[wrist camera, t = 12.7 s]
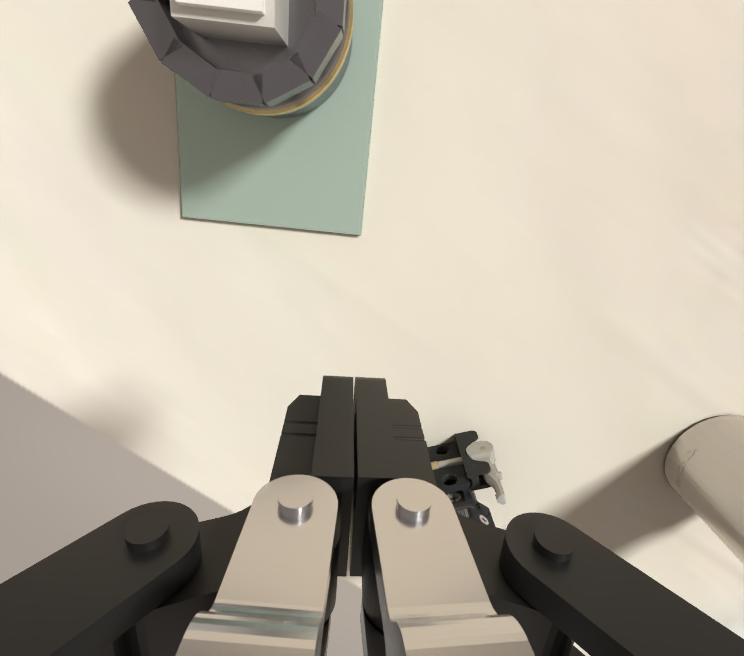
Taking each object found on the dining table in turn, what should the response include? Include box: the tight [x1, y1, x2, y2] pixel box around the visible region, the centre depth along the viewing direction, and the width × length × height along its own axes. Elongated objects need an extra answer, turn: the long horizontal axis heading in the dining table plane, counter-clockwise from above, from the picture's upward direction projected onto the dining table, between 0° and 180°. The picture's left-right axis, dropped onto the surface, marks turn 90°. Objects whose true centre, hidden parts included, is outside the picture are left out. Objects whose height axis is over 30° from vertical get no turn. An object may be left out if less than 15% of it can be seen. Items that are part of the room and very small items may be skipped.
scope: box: [425, 431, 506, 527], centre depth 35 cm, size 8×14×10 cm
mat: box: [175, 0, 383, 235], centre depth 29 cm, size 13×18×1 cm
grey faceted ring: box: [128, 0, 354, 118], centre depth 24 cm, size 10×10×10 cm
